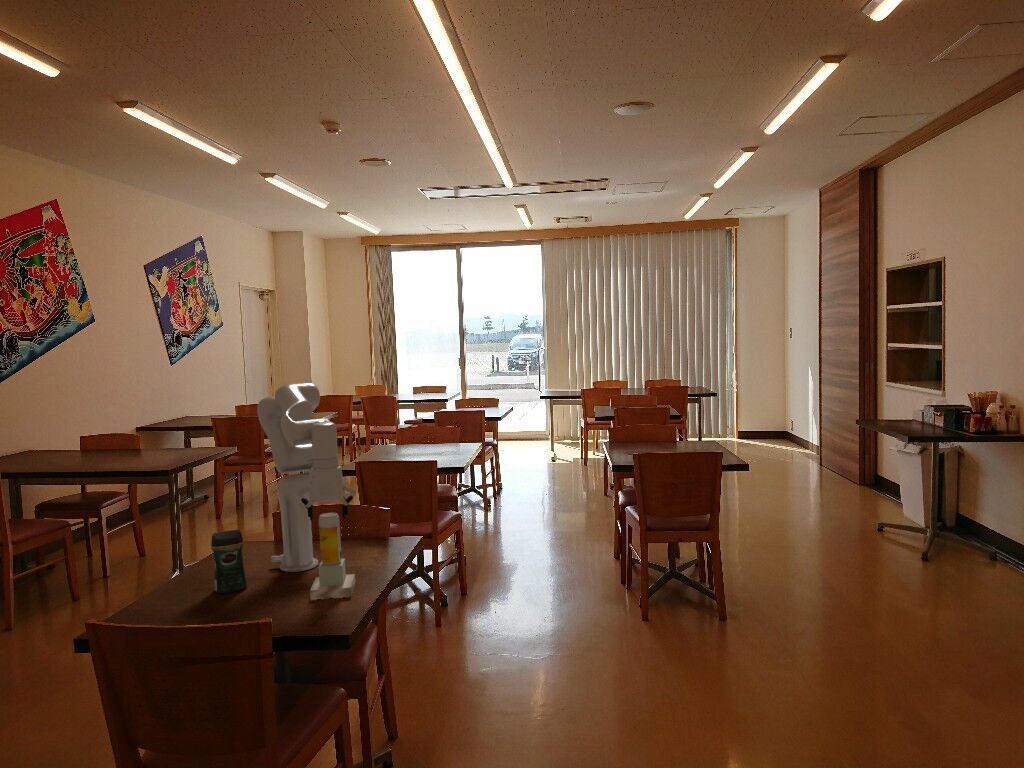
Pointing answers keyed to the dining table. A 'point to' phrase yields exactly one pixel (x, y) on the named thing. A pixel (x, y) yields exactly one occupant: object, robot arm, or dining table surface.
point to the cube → (332, 574)
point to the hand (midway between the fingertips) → (328, 518)
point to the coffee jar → (228, 561)
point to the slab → (333, 589)
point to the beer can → (330, 538)
